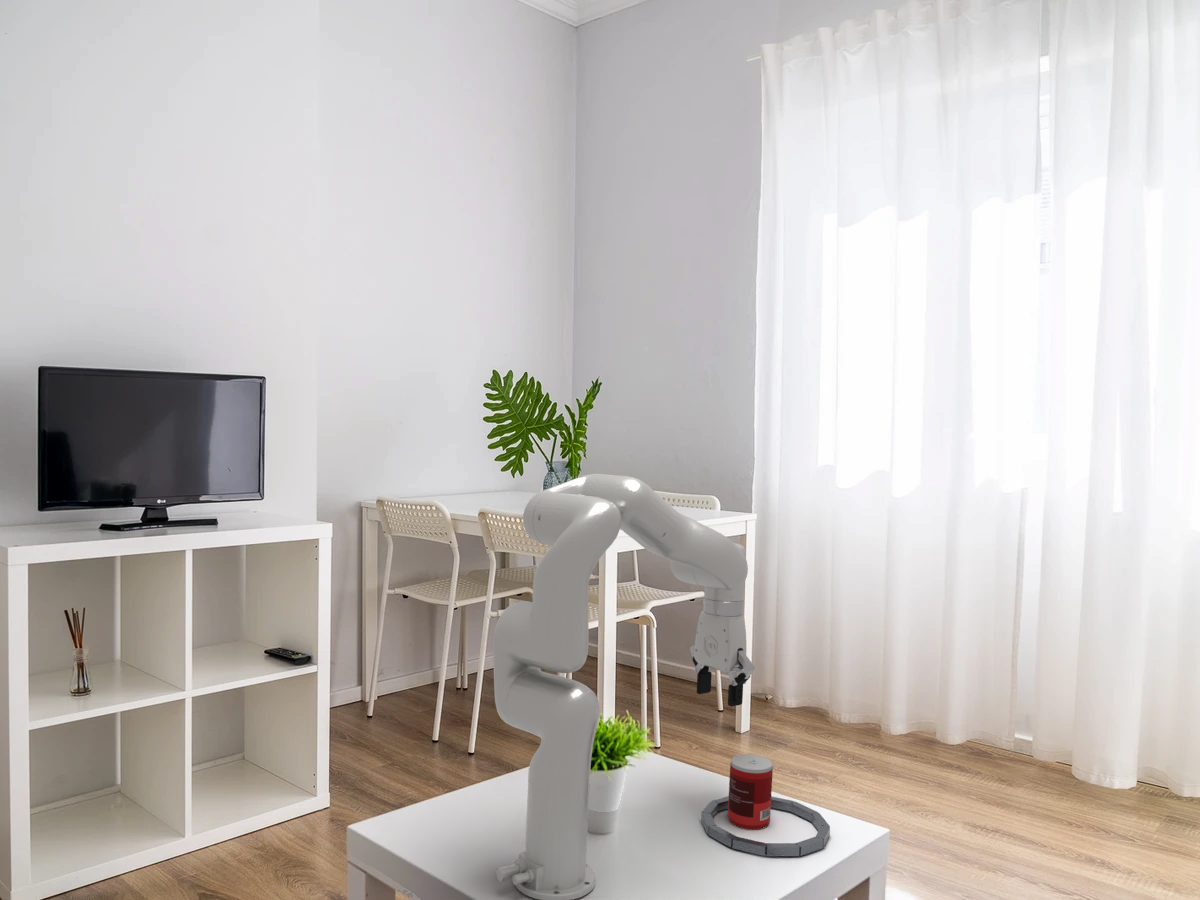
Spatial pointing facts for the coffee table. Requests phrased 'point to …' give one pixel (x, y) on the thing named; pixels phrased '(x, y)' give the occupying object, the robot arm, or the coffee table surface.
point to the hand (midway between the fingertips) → (719, 698)
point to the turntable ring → (768, 848)
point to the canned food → (750, 791)
